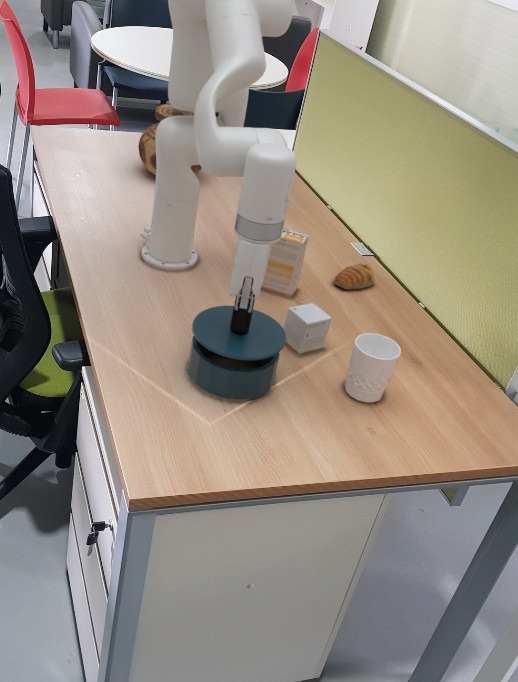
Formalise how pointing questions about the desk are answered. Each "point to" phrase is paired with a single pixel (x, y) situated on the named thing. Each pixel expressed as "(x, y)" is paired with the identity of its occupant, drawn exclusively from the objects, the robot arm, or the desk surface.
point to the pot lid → (238, 334)
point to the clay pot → (148, 138)
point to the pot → (230, 376)
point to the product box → (306, 327)
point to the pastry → (355, 277)
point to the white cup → (371, 366)
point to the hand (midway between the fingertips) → (240, 322)
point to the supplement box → (285, 262)
